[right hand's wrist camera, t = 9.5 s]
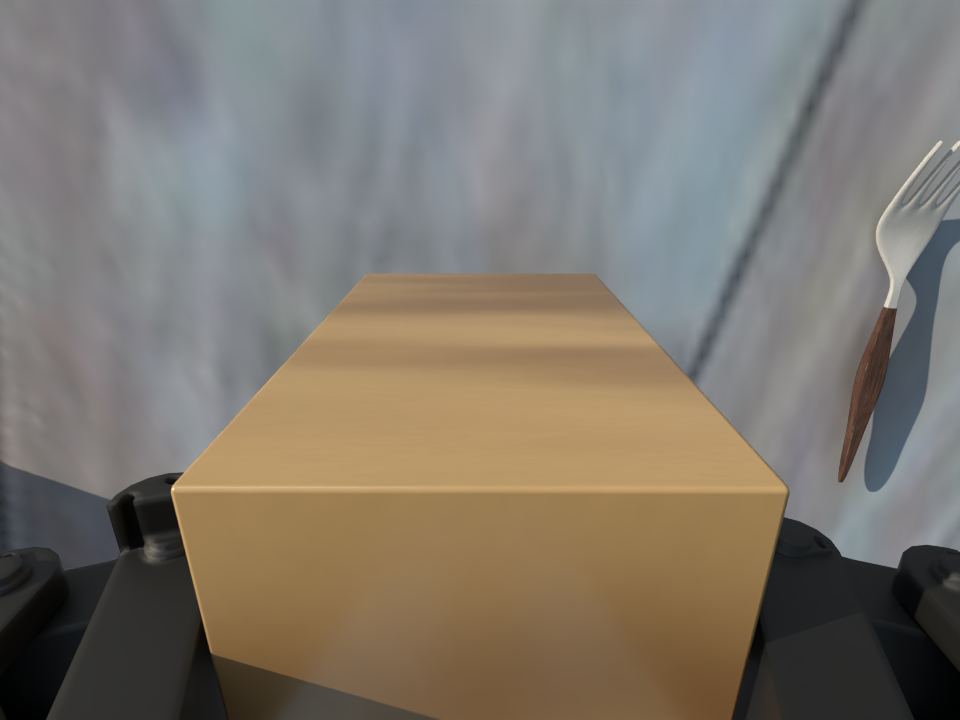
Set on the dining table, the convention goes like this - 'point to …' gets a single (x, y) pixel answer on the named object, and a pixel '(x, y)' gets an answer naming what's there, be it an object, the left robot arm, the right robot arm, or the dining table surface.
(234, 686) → the bar
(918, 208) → the fork
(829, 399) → the dining table surface
